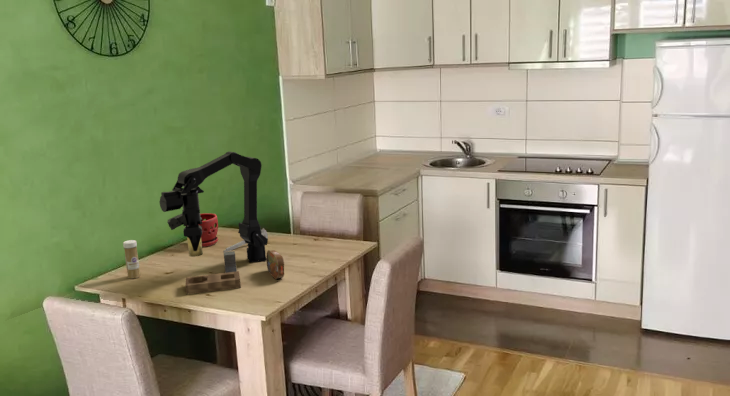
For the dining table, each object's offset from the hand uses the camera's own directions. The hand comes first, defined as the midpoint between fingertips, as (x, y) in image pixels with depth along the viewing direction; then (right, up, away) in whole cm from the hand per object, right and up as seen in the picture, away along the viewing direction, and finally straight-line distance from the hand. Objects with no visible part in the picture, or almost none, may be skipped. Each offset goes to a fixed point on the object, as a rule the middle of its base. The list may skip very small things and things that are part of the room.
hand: (195, 249), depth 244 cm
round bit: (0, -2, 0) cm, 2 cm away
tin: (+29, -9, -1) cm, 31 cm away
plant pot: (-7, -1, +42) cm, 42 cm away
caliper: (+12, -2, +36) cm, 38 cm away
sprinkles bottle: (-23, -11, +4) cm, 26 cm away
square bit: (+12, -9, +5) cm, 15 cm away
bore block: (+9, -12, -10) cm, 18 cm away
